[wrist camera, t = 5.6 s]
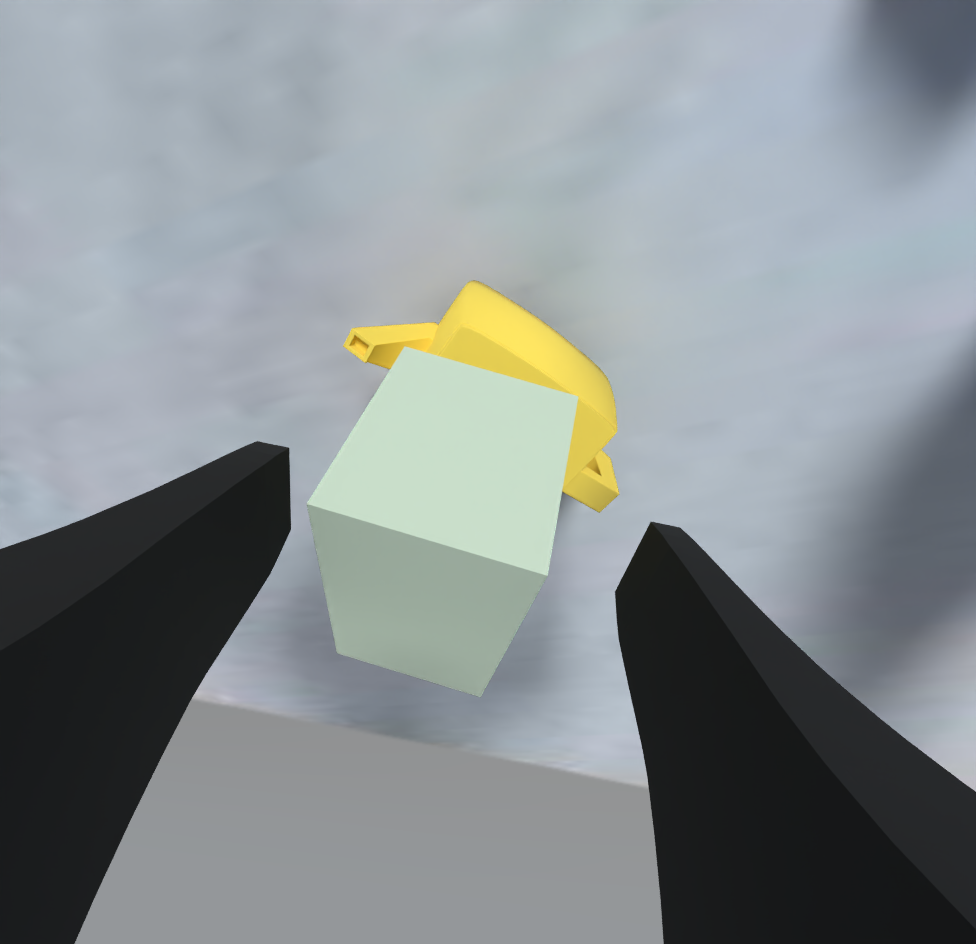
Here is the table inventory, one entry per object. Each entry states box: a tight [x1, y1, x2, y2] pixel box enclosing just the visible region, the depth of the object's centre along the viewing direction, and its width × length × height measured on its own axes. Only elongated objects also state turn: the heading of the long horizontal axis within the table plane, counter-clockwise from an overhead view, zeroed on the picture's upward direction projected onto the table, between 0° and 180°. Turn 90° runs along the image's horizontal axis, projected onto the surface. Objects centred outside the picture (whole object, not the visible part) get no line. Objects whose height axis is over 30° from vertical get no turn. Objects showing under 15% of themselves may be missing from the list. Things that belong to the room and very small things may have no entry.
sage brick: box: [307, 346, 578, 697], centre depth 10 cm, size 6×4×4 cm, turn 169°
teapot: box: [343, 280, 619, 513], centre depth 14 cm, size 8×6×5 cm
